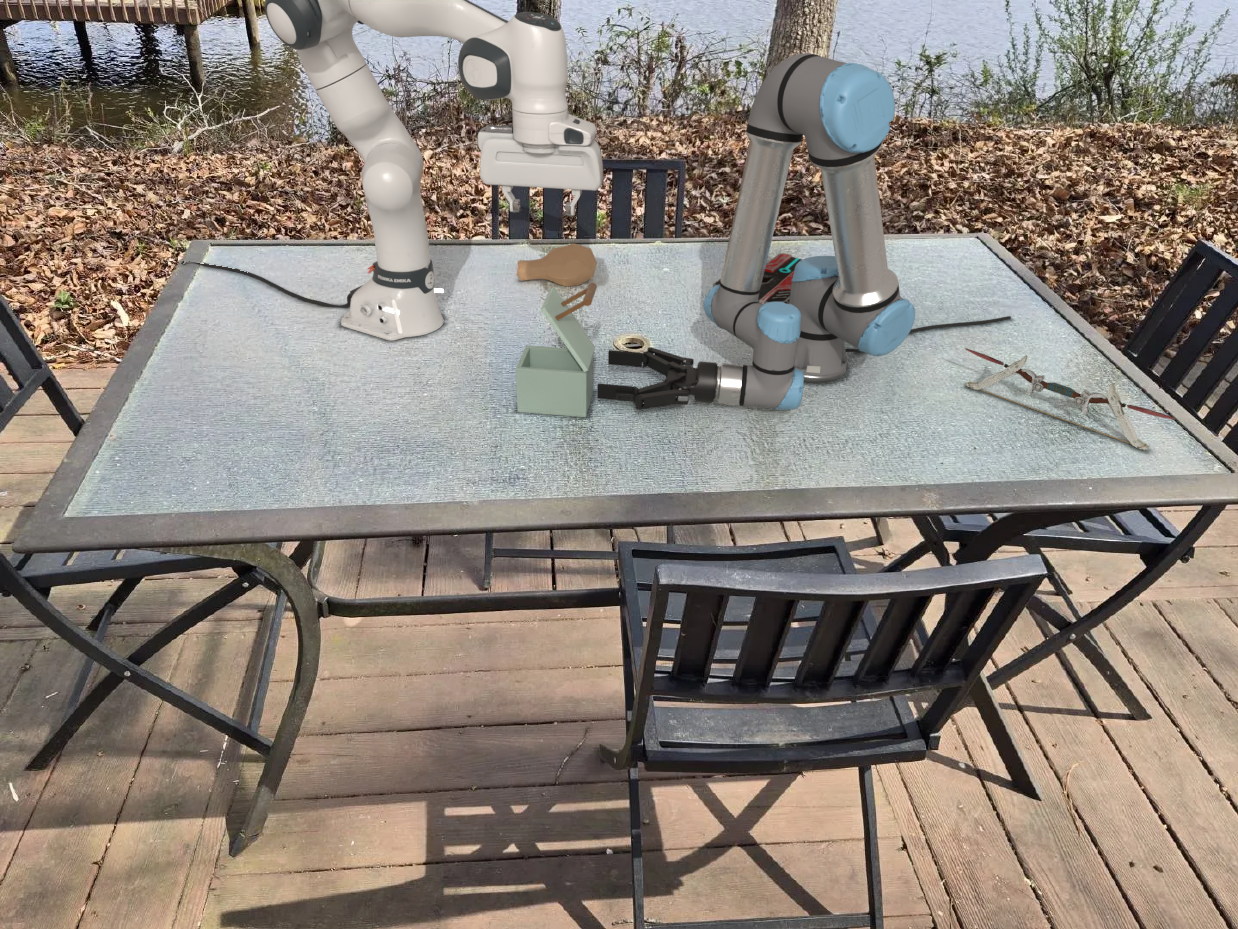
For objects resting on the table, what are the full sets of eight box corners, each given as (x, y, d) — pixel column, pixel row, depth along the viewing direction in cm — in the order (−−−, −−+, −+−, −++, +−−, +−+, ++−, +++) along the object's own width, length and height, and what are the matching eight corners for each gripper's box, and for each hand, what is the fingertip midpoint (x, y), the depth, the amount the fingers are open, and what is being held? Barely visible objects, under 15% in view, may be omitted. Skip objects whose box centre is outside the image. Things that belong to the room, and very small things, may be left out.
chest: (517, 412, 165) (515, 368, 159) (527, 387, 173) (526, 345, 168) (586, 417, 164) (586, 373, 158) (593, 392, 172) (593, 350, 166)
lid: (540, 309, 152) (579, 287, 149) (550, 288, 161) (587, 266, 157) (584, 372, 158) (622, 352, 155) (591, 348, 166) (628, 329, 163)
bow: (1161, 452, 158) (1183, 404, 152) (1158, 456, 157) (1180, 408, 151) (958, 380, 179) (970, 335, 174) (954, 383, 178) (966, 338, 173)
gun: (708, 284, 207) (784, 305, 199) (760, 245, 229) (831, 262, 221) (706, 302, 209) (781, 323, 201) (758, 261, 231) (828, 278, 223)
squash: (598, 290, 214) (593, 257, 208) (517, 297, 216) (510, 265, 210) (599, 266, 222) (594, 234, 216) (521, 274, 224) (515, 242, 218)
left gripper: (472, 128, 138) (477, 214, 146) (600, 135, 137) (599, 222, 145) (481, 119, 144) (486, 203, 151) (605, 125, 142) (604, 210, 150)
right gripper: (712, 435, 153) (592, 424, 155) (718, 370, 174) (612, 361, 176) (716, 398, 149) (592, 387, 151) (721, 335, 170) (613, 327, 172)
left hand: (542, 212), depth 148 cm, fingers open, 8 cm apart
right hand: (603, 373), depth 163 cm, fingers open, 13 cm apart
